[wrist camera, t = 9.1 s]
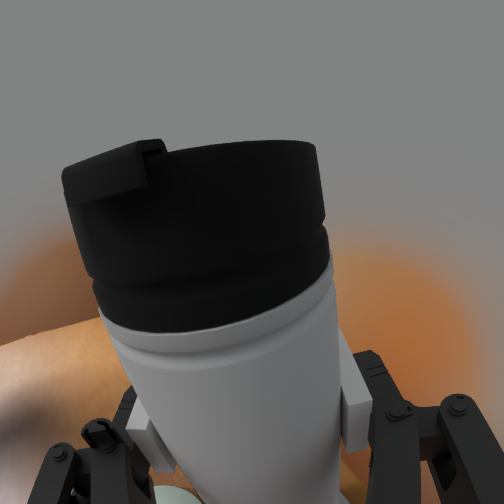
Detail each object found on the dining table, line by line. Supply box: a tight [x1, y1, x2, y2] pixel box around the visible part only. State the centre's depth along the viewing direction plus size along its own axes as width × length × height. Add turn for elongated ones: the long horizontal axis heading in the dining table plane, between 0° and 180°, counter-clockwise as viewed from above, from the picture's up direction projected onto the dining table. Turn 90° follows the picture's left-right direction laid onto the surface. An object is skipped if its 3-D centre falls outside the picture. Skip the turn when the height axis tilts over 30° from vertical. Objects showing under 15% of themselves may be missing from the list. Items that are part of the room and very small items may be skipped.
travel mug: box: [61, 139, 341, 504], centre depth 10 cm, size 6×7×20 cm
